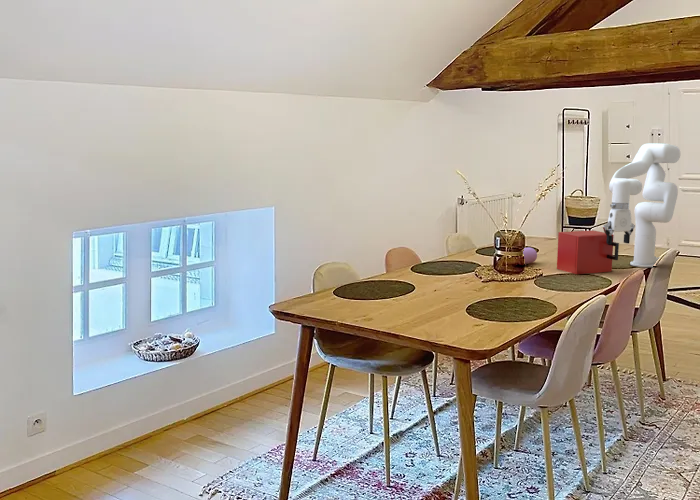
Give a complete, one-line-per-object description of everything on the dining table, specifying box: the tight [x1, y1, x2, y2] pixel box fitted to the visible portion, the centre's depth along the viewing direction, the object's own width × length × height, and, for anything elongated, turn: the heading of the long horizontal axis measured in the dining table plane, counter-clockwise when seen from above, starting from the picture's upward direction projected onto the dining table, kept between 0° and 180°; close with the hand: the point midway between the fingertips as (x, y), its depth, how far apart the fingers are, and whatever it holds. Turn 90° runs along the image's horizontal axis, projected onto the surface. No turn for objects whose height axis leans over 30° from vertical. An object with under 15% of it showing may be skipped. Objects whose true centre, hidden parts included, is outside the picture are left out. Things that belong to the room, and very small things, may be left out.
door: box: [574, 233, 620, 275], centre depth 331 cm, size 7×20×18 cm, turn 110°
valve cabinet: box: [556, 230, 606, 275], centre depth 341 cm, size 14×20×18 cm
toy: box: [523, 247, 538, 265], centre depth 356 cm, size 8×9×20 cm
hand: (617, 243), depth 328 cm, fingers open, 9 cm apart
